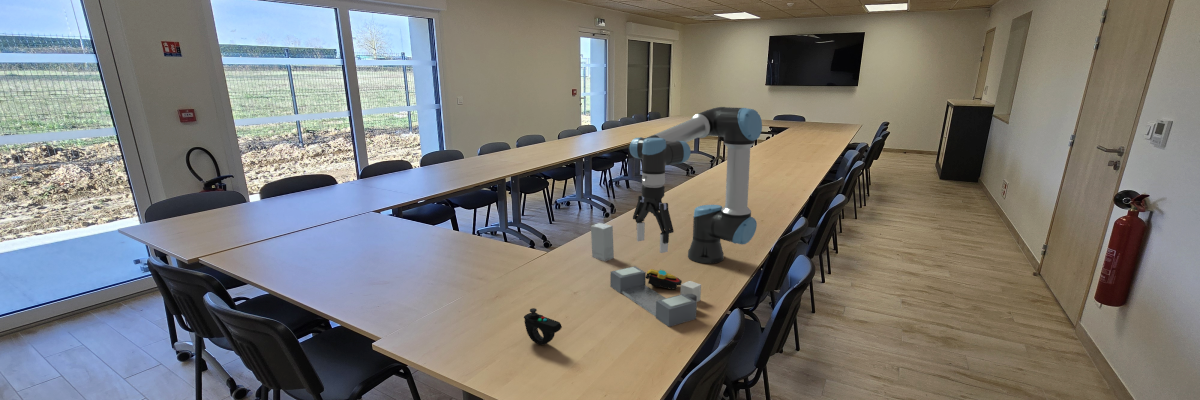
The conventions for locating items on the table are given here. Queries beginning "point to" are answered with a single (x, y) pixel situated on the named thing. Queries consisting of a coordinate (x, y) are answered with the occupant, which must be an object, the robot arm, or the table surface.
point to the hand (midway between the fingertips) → (651, 246)
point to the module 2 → (676, 310)
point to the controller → (540, 327)
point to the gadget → (662, 279)
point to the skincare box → (602, 241)
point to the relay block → (691, 289)
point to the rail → (643, 297)
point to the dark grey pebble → (692, 296)
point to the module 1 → (627, 278)
